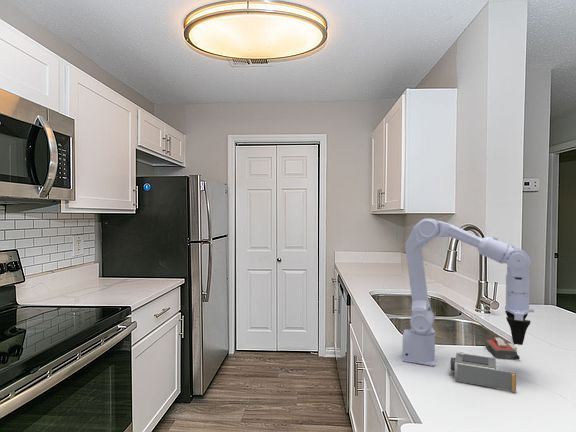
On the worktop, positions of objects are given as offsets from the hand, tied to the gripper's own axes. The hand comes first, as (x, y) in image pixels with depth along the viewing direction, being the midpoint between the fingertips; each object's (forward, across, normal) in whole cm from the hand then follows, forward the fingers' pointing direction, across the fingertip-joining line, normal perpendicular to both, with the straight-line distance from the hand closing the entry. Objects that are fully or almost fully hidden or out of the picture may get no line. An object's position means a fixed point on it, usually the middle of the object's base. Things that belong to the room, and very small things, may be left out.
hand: (517, 340), depth 110 cm
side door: (+10, -13, +8) cm, 18 cm away
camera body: (+10, -8, +10) cm, 16 cm away
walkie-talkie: (+10, +22, +3) cm, 24 cm away
